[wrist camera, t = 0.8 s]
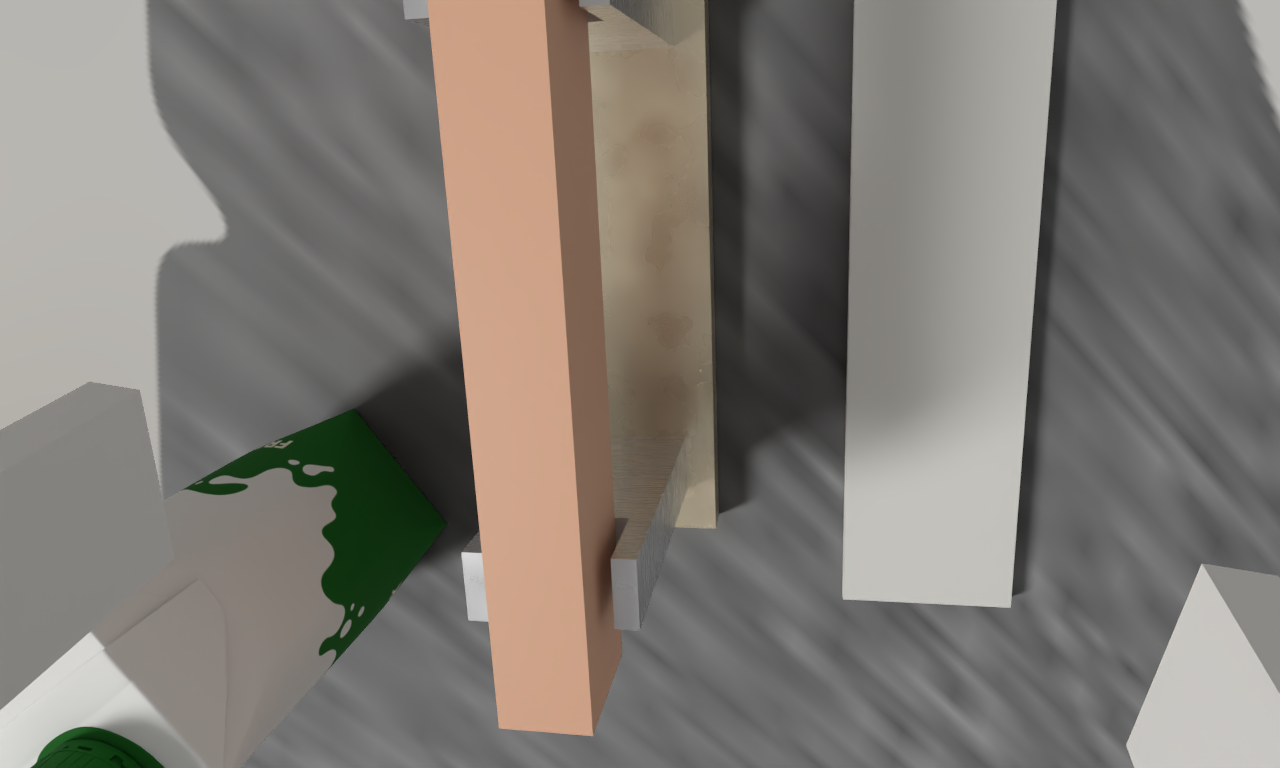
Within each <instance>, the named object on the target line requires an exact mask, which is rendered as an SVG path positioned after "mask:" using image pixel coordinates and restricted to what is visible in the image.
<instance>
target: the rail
mask: <svg viewBox="0 0 1280 768" xmlns="http://www.w3.org/2000/svg"><path fill="white" fill-rule="evenodd" d="M427 3H428V13H429V23H430V34H431V44H432V54H433V64H434V74H435V84H436V94H437V104H438V115H439V125H440V135H441V145H442V155H443V165H444V175H445V186H446V196H447V206H448V216H449V226H450V236H451V246H452V257H453V267H454V277H455V287H456V297H457V307H458V317H459V327H460V338H461V348H462V358H463V368H464V378H465V388H466V398H467V409H468V419H469V429H470V439H471V449H472V459H473V469H474V480H475V490H476V500H477V510H478V520H479V530H480V540H481V550H482V561H483V571H484V581H485V591H486V601H487V611H488V621H489V632H490V642H491V652H492V662H493V672H494V682H495V692H496V703H497V713H498V723H499V728H501V729H514V730H526V731H538V732H550V733H562V734H574V735H586V736H593V734H594V732H595V729H596V726H597V723H598V720H599V718H600V715H601V712H602V709H603V706H604V704H605V701H606V698H607V695H608V692H609V689H610V687H611V684H612V681H613V678H614V675H615V673H616V670H617V667H618V664H619V661H620V658H621V656H622V641H621V629H614V611H613V593H612V576H611V557H612V555H613V552H614V550H615V548H616V531H615V512H614V494H613V476H612V457H611V439H610V420H609V402H608V384H607V365H606V347H605V329H604V310H603V292H602V273H601V255H600V237H599V218H598V200H597V181H596V163H595V145H594V126H593V108H592V89H591V71H590V53H589V34H588V16H587V11H586V10H584V9H583V8H581V7H579V0H427Z"/></svg>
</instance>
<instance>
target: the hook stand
mask: <svg viewBox="0 0 1280 768" xmlns="http://www.w3.org/2000/svg"><path fill="white" fill-rule="evenodd" d="M403 3H404V13H405V20H409V21H412V22H415V23H419V24H422V25H426V26H429V27H430V23H429V13H428V3H427V0H403ZM579 7H581V8H583V9H584V10H586V11H587V16H588V34H589V53H590V71H591V89H592V108H593V126H594V145H595V163H596V181H597V200H598V218H599V237H600V255H601V273H602V292H603V310H604V329H605V347H606V365H607V384H608V402H609V420H610V439H611V457H612V476H613V494H614V512H615V531H616V548H615V550H614V552H613V555H612V557H611V576H612V593H613V611H614V629H622V630H639V631H640V628H641V625H642V622H643V619H644V616H645V614H646V611H647V608H648V605H649V602H650V599H651V596H652V593H653V590H654V587H655V584H656V581H657V578H658V575H659V572H660V569H661V566H662V563H663V560H664V557H665V554H666V551H667V548H668V545H669V542H670V539H671V536H672V533H673V530H674V527H687V528H714V529H716V526H717V521H718V517H719V489H718V440H717V392H716V343H715V294H714V246H713V197H712V148H711V100H710V51H709V3H708V0H579ZM461 554H462V563H463V573H464V582H465V592H466V601H467V611H468V620H470V621H487V622H489V621H488V611H487V601H486V591H485V581H484V571H483V561H482V550H481V540H480V530H479V531H478V533H477V534H476V535H475V536H474V537H473V539H472V540H471V541H470V542H469V544H468V545H467V546H466V547H465V548H464V550H463V551H462V552H461Z"/></svg>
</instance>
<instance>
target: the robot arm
mask: <svg viewBox="0 0 1280 768" xmlns="http://www.w3.org/2000/svg"><path fill="white" fill-rule="evenodd" d="M174 558H175V556H174V551H173V547H172V542H171V537H170V532H169V528H168V523H167V518H166V513H165V508H164V504H163V499H162V494H161V489H160V485H159V480H158V475H157V470H156V466H155V461H154V456H153V451H152V447H151V442H150V437H149V432H148V428H147V423H146V418H145V413H144V409H143V404H142V399H141V395H140V390H136V389H130V388H124V387H118V386H112V385H105V384H100V383H93V382H88V383H86V384H85V385H83V386H81V387H79V388H77V389H75V390H73V391H72V392H70V393H68V394H67V395H64V396H62V397H61V398H59V399H57V400H55V401H53V402H51V403H50V404H48V405H46V406H44V407H42V408H40V409H39V410H37V411H35V412H33V413H31V414H29V415H27V416H26V417H24V418H22V419H20V420H18V421H16V422H14V423H13V424H11V425H9V426H7V427H5V428H3V429H2V430H0V710H1V709H2V708H3V707H5V706H6V705H7V704H8V703H9V702H10V701H11V700H13V699H14V698H15V697H16V696H17V695H18V694H19V693H21V692H22V691H23V690H24V689H25V688H26V687H28V686H29V685H30V684H31V683H32V682H33V681H34V680H36V679H37V678H38V677H39V676H40V675H41V674H42V673H44V672H45V671H46V670H47V669H48V668H49V667H50V666H52V665H53V664H54V663H55V662H56V661H57V660H58V659H60V658H61V657H62V656H63V655H64V654H65V653H66V652H68V651H69V650H70V649H71V648H72V647H73V646H74V645H76V644H77V643H78V642H79V641H80V640H81V639H83V638H84V637H85V636H86V635H87V634H88V633H89V632H91V631H92V630H93V629H94V628H95V627H96V626H97V625H99V624H100V623H101V622H102V621H103V620H104V619H105V618H107V617H108V616H109V615H110V614H111V613H112V612H113V611H115V610H116V609H117V608H118V607H119V606H120V605H121V604H123V603H124V602H125V601H126V600H127V599H128V598H129V597H131V596H132V595H133V594H134V593H135V592H136V591H137V590H139V589H140V588H141V587H142V586H143V585H144V584H146V583H147V582H148V581H149V580H150V579H151V578H152V577H154V576H155V575H156V574H157V573H158V572H159V571H160V570H162V569H163V568H164V567H165V566H166V565H167V564H168V563H170V562H171V561H172V560H173V559H174ZM1126 746H1127V749H1128V752H1129V754H1130V757H1131V760H1132V763H1133V766H1134V768H1280V577H1279V576H1275V575H1269V574H1263V573H1257V572H1251V571H1245V570H1238V569H1232V568H1226V567H1220V566H1214V565H1208V564H1201V567H1200V569H1199V572H1198V574H1197V576H1196V579H1195V581H1194V584H1193V586H1192V588H1191V591H1190V593H1189V596H1188V598H1187V600H1186V603H1185V605H1184V608H1183V610H1182V612H1181V615H1180V617H1179V620H1178V622H1177V624H1176V627H1175V629H1174V632H1173V634H1172V636H1171V639H1170V641H1169V644H1168V646H1167V648H1166V651H1165V653H1164V656H1163V658H1162V660H1161V663H1160V665H1159V668H1158V670H1157V672H1156V675H1155V677H1154V680H1153V682H1152V684H1151V687H1150V689H1149V692H1148V694H1147V696H1146V699H1145V701H1144V704H1143V706H1142V708H1141V711H1140V713H1139V716H1138V718H1137V721H1136V723H1135V725H1134V728H1133V730H1132V733H1131V735H1130V737H1129V740H1128V742H1127V745H1126Z"/></svg>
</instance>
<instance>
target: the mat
mask: <svg viewBox="0 0 1280 768" xmlns="http://www.w3.org/2000/svg"><path fill="white" fill-rule="evenodd" d="M1056 6H1057V0H854V26H853V77H852V127H851V177H850V228H849V278H848V328H847V379H846V429H845V479H844V530H843V580H842V593H843V599H848V600H868V601H888V602H908V603H928V604H948V605H967V606H987V607H1007V608H1011V596H1012V583H1013V570H1014V557H1015V544H1016V531H1017V518H1018V504H1019V491H1020V478H1021V465H1022V452H1023V439H1024V426H1025V413H1026V399H1027V386H1028V373H1029V360H1030V347H1031V334H1032V321H1033V308H1034V294H1035V281H1036V268H1037V255H1038V242H1039V229H1040V216H1041V203H1042V189H1043V176H1044V163H1045V150H1046V137H1047V124H1048V111H1049V98H1050V84H1051V71H1052V58H1053V45H1054V32H1055V19H1056Z"/></svg>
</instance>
